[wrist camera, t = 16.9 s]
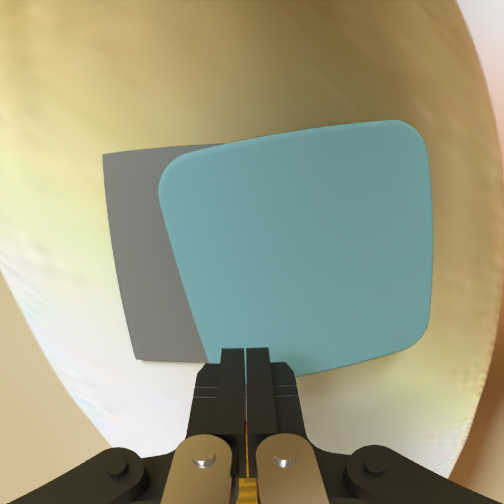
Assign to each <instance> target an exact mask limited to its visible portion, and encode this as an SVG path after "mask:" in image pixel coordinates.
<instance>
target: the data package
mask: <svg viewBox="0 0 504 504" xmlns="http://www.w3.org/2000/svg"><path fill="white" fill-rule="evenodd" d="M158 197H159V202H160V206H161V210H162V214H163V217H164V221H165V225H166V228H167V232H168V236H169V239H170V243H171V246H172V250H173V253H174V257H175V260H176V263H177V267H178V270H179V273H180V277H181V280H182V283H183V287H184V290H185V293H186V296H187V299H188V302H189V305H190V309H191V312H192V315H193V318H194V321H195V324H196V327H197V330H198V333H199V335H200V338H201V341H202V344H203V347H204V350H205V353H206V356H207V358H208V361H209V363H217V364H220V359H221V350H222V348H244V353H245V379H246V348H259V347H268V348H269V356H270V362H286V363H287V364H288V366H289V367H290V368H291V369H292V370H293V371H294V375H295V377H299V376H304V375H308V374H313V373H318V372H322V371H327V370H331V369H336V368H340V367H344V366H348V365H352V364H356V363H360V362H364V361H367V360H371V359H375V358H378V357H382V356H385V355H389V354H392V353H396V352H399V351H402V350H405V349H407V348H409V347H411V346H412V345H414V344H415V343H416V342H417V341H418V340H419V339H420V338H421V337H422V335H423V334H424V332H425V330H426V328H427V326H428V322H429V315H430V303H431V288H432V267H433V216H432V194H431V179H430V168H429V158H428V151H427V147H426V144H425V142H424V140H423V138H422V136H421V135H420V134H419V132H418V131H417V130H416V129H415V128H413V127H412V126H411V125H409V124H407V123H405V122H403V121H399V120H383V121H371V122H361V123H351V124H342V125H334V126H326V127H319V128H311V129H305V130H298V131H292V132H286V133H280V134H274V135H268V136H263V137H257V138H252V139H247V140H242V141H237V142H232V143H228V144H223V145H218V146H214V147H210V148H205V149H201V150H197V151H193V152H189V153H186V154H183V155H181V156H179V157H177V158H176V159H174V160H173V161H172V162H171V163H170V164H169V165H168V166H167V167H166V169H165V170H164V172H163V174H162V176H161V179H160V182H159V187H158Z"/></svg>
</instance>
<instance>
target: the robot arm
mask: <svg viewBox="0 0 504 504" xmlns="http://www.w3.org/2000/svg"><path fill="white" fill-rule="evenodd" d="M246 403H247V448H248V468H249V478H256V497H257V504H502V503H500V502H497V501H495V500H492V499H490V498H488V497H485V496H483V495H481V494H478V493H476V492H474V491H472V490H470V489H467V488H465V487H463V486H461V485H459V484H457V483H455V482H452V481H450V480H448V479H446V478H444V477H442V476H440V475H438V474H436V473H434V472H432V471H430V470H428V469H426V468H425V467H423V466H421V465H419V464H417V463H415V462H413V461H411V460H410V459H408V458H406V457H404V456H402V455H400V454H399V453H397V452H395V451H393V450H391V449H389V448H387V447H384V446H380V445H369V446H364V447H362V448H360V449H358V450H356V451H355V452H354V453H353V454H352V455H345V454H337V453H330V452H326V451H323V450H321V449H319V448H317V447H316V446H314V445H313V444H312V443H311V442H310V441H309V439H308V438H307V436H306V432H305V427H304V422H303V417H302V411H301V406H300V401H299V396H298V390H297V386H296V380H295V375H294V371H293V370H292V369H291V368H290V367H289V366H288V364H287V363H286V362H270V356H269V348H268V347H259V348H246V379H245V353H244V348H222V350H221V359H220V364H217V363H206V364H205V365H204V366H203V367H202V369H201V370H200V371H199V372H198V374H197V378H196V384H195V389H194V395H193V400H192V406H191V412H190V417H189V423H188V429H187V434H186V438H185V440H184V441H182V442H181V443H180V444H179V445H178V447H177V448H176V450H174V451H172V452H170V453H168V454H165V455H160V456H154V457H147V458H140V457H139V456H138V455H137V454H136V453H135V452H133V451H131V450H129V449H126V448H120V447H116V448H109V449H106V450H104V451H102V452H101V453H99V454H97V455H96V456H94V457H92V458H91V459H89V460H87V461H85V462H84V463H82V464H80V465H79V466H77V467H75V468H74V469H72V470H70V471H68V472H67V473H65V474H63V475H61V476H59V477H58V478H56V479H54V480H52V481H50V482H48V483H47V484H45V485H43V486H41V487H39V488H38V489H35V490H33V491H32V492H30V493H28V494H26V495H24V496H22V497H20V498H18V499H16V500H14V501H12V502H10V503H7V504H238V497H239V478H247V458H246Z"/></svg>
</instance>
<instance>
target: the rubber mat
mask: <svg viewBox="0 0 504 504" xmlns="http://www.w3.org/2000/svg"><path fill="white" fill-rule="evenodd" d="M218 145H223V144H207V145H190V146H176V147H163V148H152V149H142V150H133V151H125V152H117V153H109V154H102V155H103V170H104V183H105V193H106V203H107V212H108V220H109V228H110V235H111V242H112V249H113V255H114V261H115V267H116V273H117V278H118V284H119V289H120V294H121V299H122V304H123V308H124V313H125V317H126V322H127V326H128V330H129V334H130V338H131V342H132V346H133V350H134V354H135V358H136V359H138V360H154V361H176V362H209V361H208V358H207V356H206V353H205V350H204V347H203V344H202V341H201V338H200V335H199V333H198V330H197V327H196V324H195V321H194V318H193V315H192V312H191V309H190V305H189V302H188V299H187V296H186V293H185V290H184V287H183V283H182V280H181V277H180V273H179V270H178V267H177V263H176V260H175V257H174V253H173V250H172V246H171V243H170V239H169V236H168V232H167V228H166V225H165V221H164V217H163V214H162V210H161V206H160V202H159V197H158V187H159V182H160V179H161V176H162V174H163V172H164V170H165V169H166V167H167V166H168V165H169V164H170V163H171V162H172V161H173V160H174V159H176V158H177V157H179V156H181V155H183V154H186V153H189V152H193V151H197V150H201V149H205V148H210V147H214V146H218Z"/></svg>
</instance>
